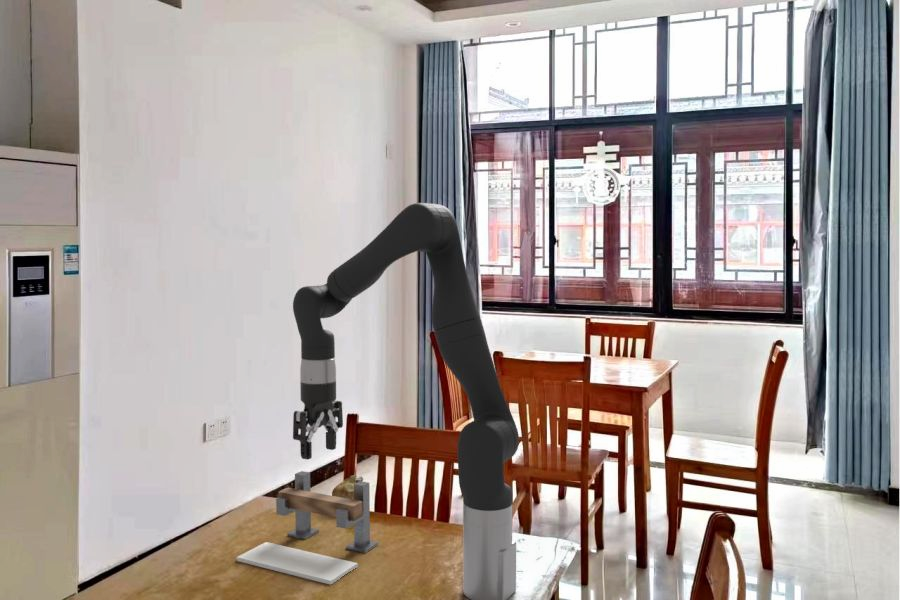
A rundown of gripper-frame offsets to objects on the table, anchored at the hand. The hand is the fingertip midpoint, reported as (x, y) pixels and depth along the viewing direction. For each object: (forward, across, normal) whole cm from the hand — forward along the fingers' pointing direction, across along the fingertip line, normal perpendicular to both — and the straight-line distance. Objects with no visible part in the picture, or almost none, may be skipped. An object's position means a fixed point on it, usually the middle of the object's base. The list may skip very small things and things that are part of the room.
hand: (319, 453), depth 159 cm
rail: (+12, 0, 0) cm, 12 cm away
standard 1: (+21, +2, +8) cm, 22 cm away
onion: (+21, +23, +9) cm, 32 cm away
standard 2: (+21, +2, -8) cm, 22 cm away
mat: (+20, -9, -1) cm, 22 cm away
